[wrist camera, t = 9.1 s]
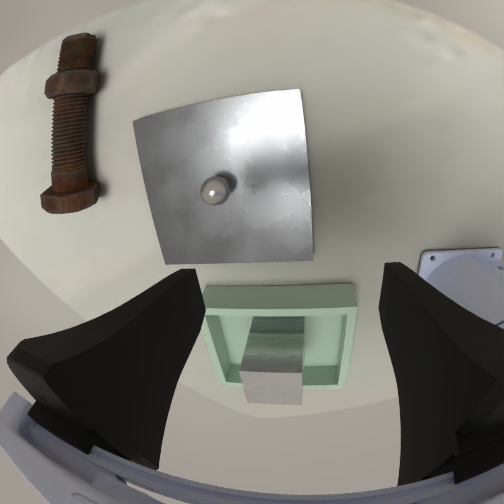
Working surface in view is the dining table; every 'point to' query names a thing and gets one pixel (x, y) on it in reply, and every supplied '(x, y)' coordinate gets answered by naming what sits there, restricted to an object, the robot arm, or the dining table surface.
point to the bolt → (71, 127)
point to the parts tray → (283, 304)
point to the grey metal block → (274, 360)
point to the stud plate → (229, 179)
